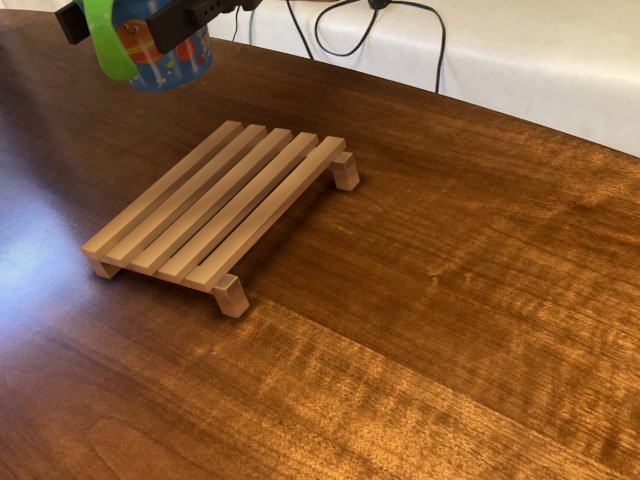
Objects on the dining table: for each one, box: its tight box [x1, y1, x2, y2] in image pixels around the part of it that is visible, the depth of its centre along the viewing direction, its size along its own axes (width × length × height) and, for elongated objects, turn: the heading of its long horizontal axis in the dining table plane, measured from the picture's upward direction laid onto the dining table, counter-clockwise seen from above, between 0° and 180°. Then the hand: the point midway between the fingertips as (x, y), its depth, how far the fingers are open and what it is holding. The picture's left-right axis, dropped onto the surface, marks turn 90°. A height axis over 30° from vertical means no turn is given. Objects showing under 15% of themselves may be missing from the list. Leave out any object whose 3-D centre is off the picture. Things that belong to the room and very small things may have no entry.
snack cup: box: [71, 0, 214, 95], centre depth 63 cm, size 16×10×10 cm
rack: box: [79, 120, 361, 319], centre depth 68 cm, size 16×20×4 cm
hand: (108, 32), depth 60 cm, fingers closed on snack cup, 9 cm apart
